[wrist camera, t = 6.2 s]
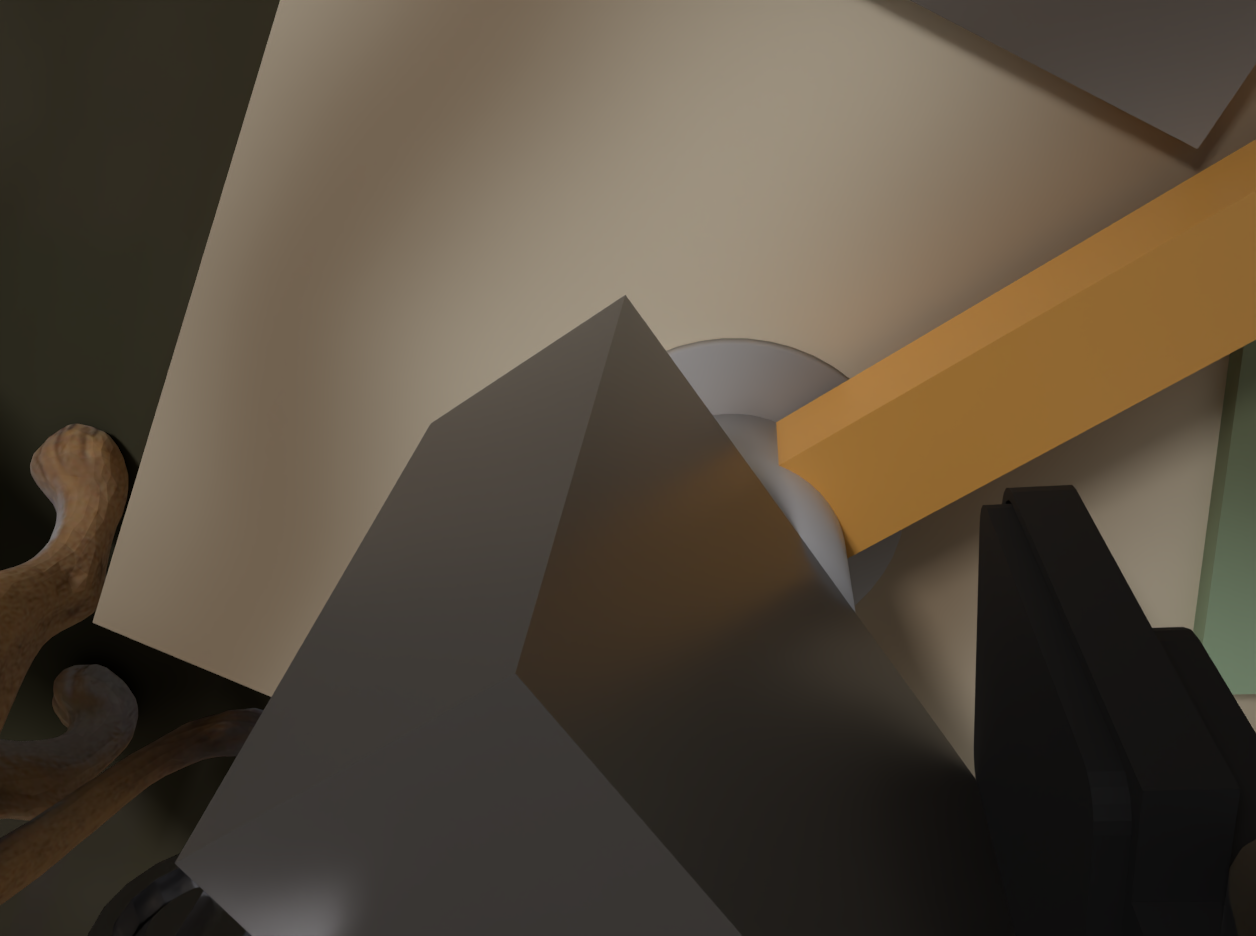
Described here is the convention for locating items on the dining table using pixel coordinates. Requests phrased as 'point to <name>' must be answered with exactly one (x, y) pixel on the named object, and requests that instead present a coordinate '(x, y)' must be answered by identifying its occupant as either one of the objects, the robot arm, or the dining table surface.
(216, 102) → the dining table surface
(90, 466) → the lion figurine
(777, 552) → the latch
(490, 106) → the dial board
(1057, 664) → the robot arm
